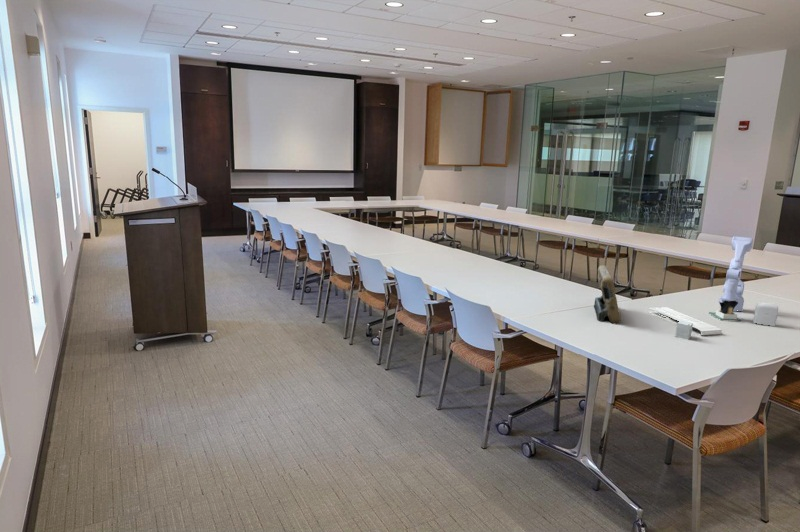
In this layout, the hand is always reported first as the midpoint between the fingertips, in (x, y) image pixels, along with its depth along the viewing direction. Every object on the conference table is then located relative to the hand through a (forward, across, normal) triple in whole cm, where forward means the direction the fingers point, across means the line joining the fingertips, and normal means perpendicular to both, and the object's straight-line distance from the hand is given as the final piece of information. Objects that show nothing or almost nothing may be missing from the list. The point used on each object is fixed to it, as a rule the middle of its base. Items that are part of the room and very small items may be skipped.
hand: (726, 313), depth 291 cm
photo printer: (+3, -11, +14) cm, 18 cm away
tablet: (+3, +62, -26) cm, 68 cm away
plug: (+2, 0, 0) cm, 2 cm away
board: (+3, -1, -2) cm, 4 cm away
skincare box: (+3, +51, +14) cm, 53 cm away
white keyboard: (+3, +32, -2) cm, 32 cm away
